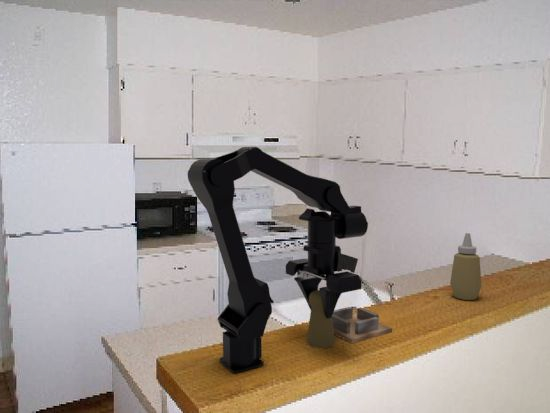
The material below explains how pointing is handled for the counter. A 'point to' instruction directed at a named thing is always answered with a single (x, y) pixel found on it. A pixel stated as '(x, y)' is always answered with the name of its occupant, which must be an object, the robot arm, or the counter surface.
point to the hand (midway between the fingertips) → (321, 314)
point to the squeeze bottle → (466, 271)
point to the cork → (319, 324)
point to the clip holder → (357, 324)
